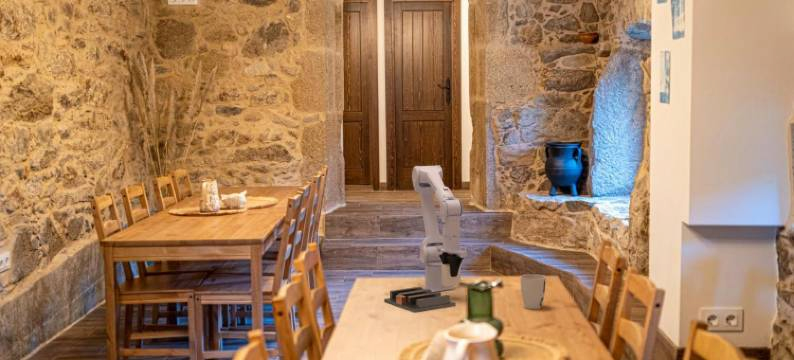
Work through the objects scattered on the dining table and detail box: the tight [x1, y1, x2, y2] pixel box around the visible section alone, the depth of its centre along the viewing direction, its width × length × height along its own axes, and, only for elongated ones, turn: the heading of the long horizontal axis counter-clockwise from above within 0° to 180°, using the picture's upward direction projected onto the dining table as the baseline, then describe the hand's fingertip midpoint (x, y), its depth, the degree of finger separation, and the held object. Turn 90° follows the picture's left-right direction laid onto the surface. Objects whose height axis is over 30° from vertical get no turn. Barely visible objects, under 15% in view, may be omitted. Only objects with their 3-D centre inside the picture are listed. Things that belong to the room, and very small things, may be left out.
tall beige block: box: [442, 264, 462, 287], centre depth 302 cm, size 6×2×7 cm, turn 123°
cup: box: [520, 273, 547, 310], centre depth 289 cm, size 8×8×10 cm
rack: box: [383, 286, 456, 313], centre depth 296 cm, size 16×18×4 cm
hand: (451, 275), depth 302 cm, fingers closed on tall beige block, 2 cm apart
